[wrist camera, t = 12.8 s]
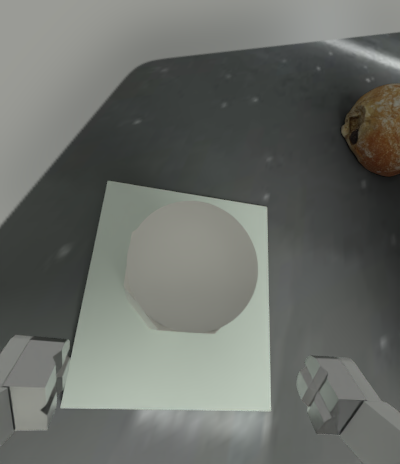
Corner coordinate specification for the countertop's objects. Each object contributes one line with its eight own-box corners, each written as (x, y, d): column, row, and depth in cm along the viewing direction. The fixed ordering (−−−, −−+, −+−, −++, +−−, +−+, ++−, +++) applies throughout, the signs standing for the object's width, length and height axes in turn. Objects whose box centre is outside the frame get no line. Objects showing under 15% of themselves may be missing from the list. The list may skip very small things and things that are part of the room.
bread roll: (321, 127, 36) (338, 81, 28) (404, 101, 34) (446, 45, 27) (349, 195, 33) (376, 164, 25) (440, 170, 32) (498, 130, 24)
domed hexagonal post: (211, 253, 22) (257, 210, 14) (207, 332, 20) (258, 337, 12) (136, 244, 21) (137, 191, 13) (123, 326, 19) (115, 327, 11)
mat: (264, 209, 25) (267, 206, 25) (267, 408, 20) (270, 411, 19) (108, 184, 23) (107, 180, 22) (62, 405, 17) (60, 408, 17)
